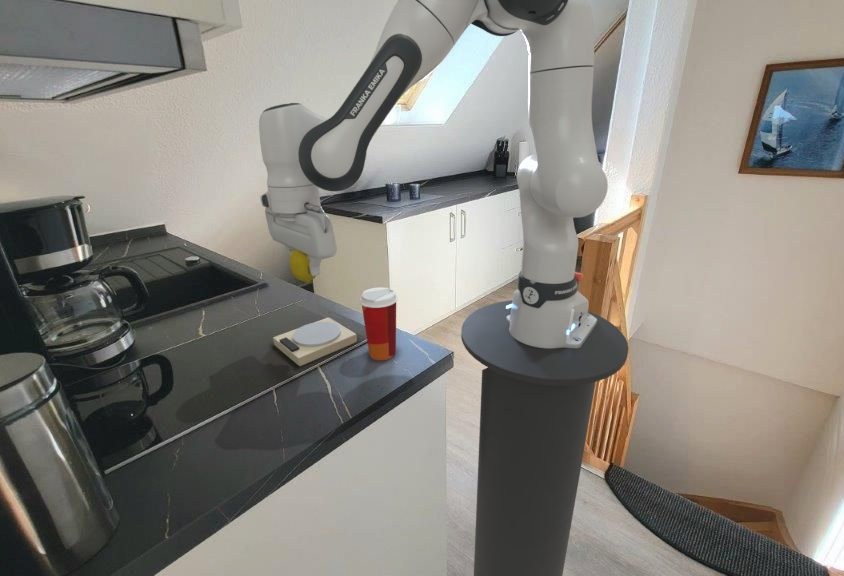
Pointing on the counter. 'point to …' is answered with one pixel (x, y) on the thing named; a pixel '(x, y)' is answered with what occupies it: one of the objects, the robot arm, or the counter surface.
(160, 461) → the counter surface
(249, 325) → the counter surface
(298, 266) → the lemon
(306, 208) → the robot arm
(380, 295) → the paper cup
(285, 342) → the scale
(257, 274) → the counter surface
